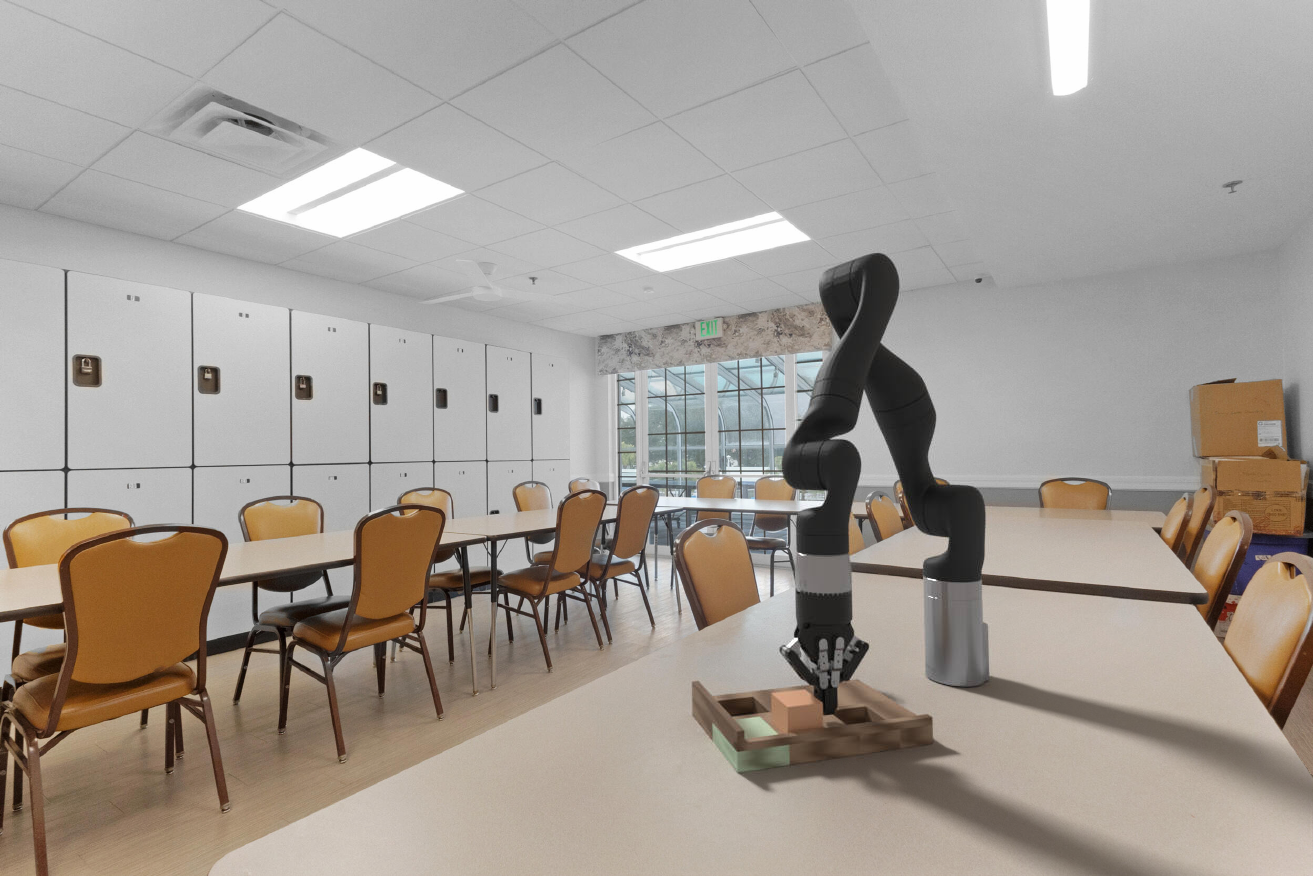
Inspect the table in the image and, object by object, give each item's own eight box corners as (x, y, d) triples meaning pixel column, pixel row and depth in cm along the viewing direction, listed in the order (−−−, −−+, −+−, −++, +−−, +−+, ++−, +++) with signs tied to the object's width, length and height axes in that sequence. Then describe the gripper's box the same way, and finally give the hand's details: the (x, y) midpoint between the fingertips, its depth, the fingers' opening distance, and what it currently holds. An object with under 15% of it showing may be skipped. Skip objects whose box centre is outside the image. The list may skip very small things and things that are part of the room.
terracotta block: (805, 718, 88) (804, 689, 88) (823, 734, 83) (822, 703, 83) (771, 722, 87) (771, 693, 87) (788, 738, 82) (787, 707, 82)
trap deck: (857, 694, 103) (857, 663, 103) (933, 743, 85) (932, 705, 85) (692, 715, 96) (691, 681, 96) (737, 772, 78) (736, 731, 78)
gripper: (851, 577, 93) (853, 697, 92) (767, 583, 89) (769, 708, 89) (881, 587, 85) (884, 718, 85) (791, 594, 82) (794, 730, 81)
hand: (825, 713), depth 87 cm, fingers closed
